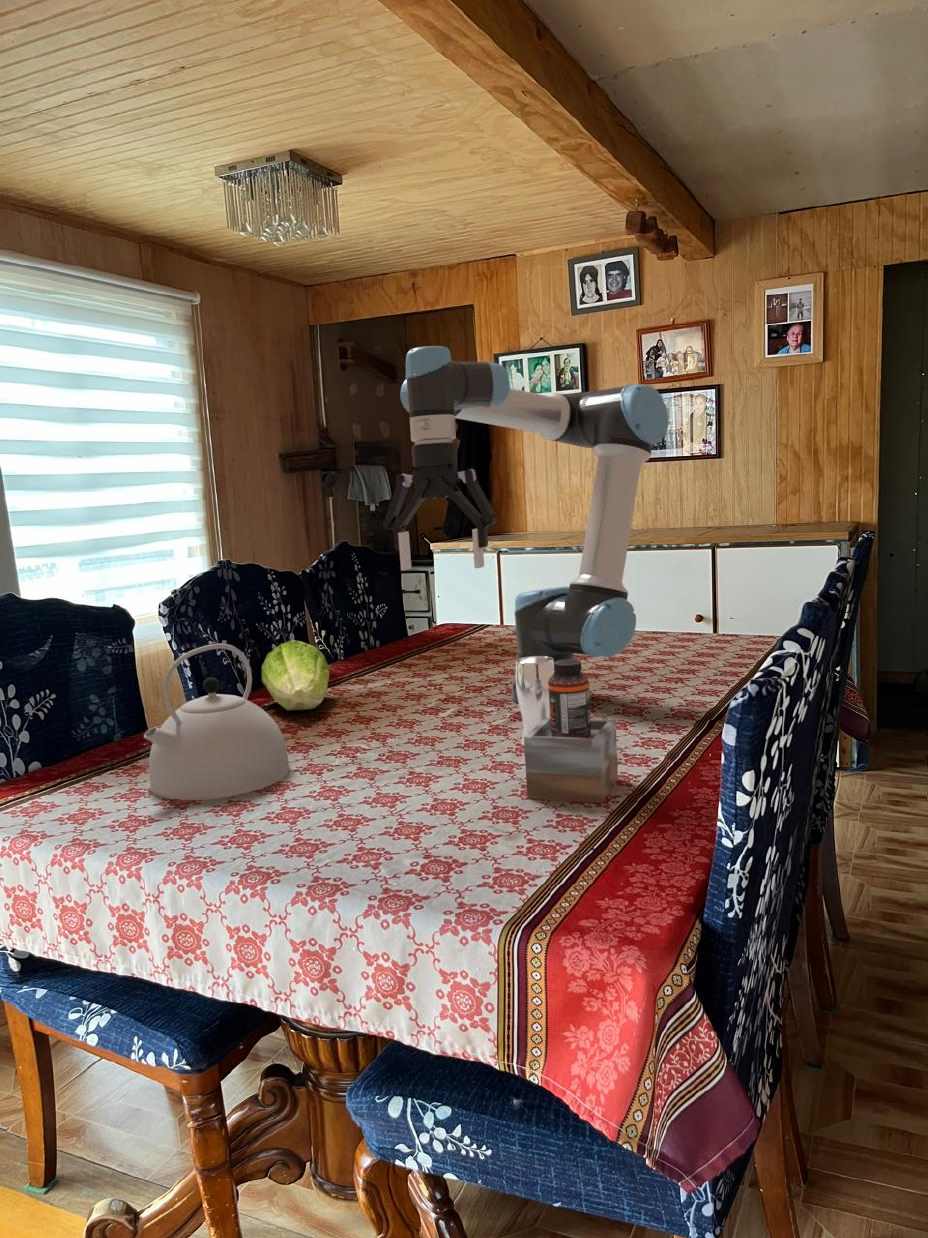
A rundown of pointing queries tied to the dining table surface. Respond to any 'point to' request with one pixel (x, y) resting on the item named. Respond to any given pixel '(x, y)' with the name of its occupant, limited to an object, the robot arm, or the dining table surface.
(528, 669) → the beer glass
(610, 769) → the wooden box
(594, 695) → the dining table surface
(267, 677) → the lettuce
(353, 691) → the dining table surface
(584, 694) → the supplement bottle
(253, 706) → the kettle
